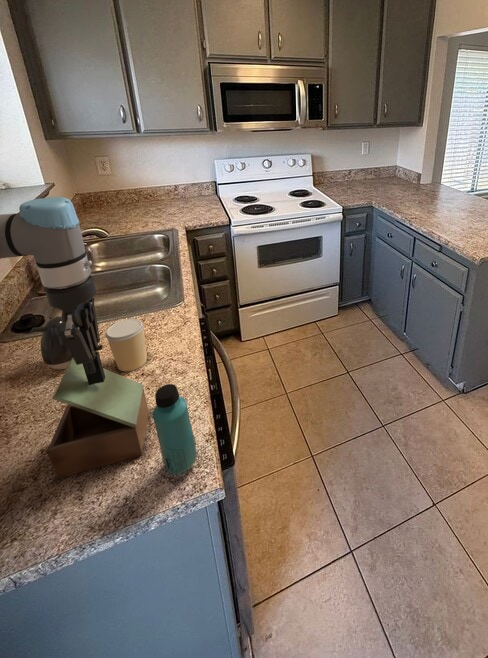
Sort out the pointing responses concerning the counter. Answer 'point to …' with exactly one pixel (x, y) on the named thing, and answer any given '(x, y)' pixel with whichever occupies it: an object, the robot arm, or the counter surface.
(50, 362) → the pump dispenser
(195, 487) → the counter surface
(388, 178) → the counter surface
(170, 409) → the beverage bottle
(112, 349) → the coffee cup
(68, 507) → the counter surface
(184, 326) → the counter surface
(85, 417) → the brown wooden box
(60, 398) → the lid
